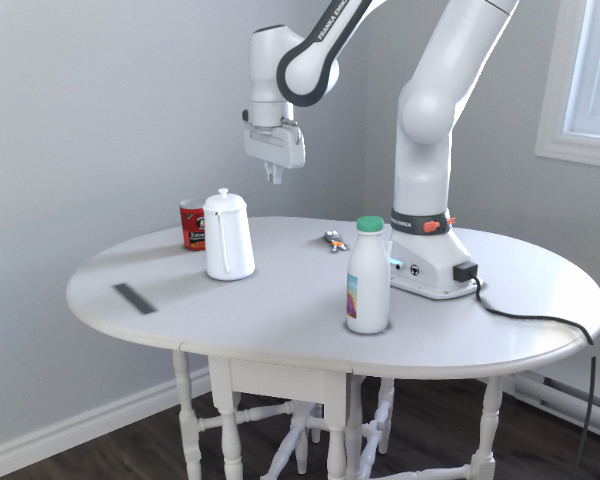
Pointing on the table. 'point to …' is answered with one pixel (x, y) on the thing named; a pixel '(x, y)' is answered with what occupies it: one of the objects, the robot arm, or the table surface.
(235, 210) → the coffeepot
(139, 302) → the tape line
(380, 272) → the milk bottle
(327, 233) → the key chain
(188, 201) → the canned food
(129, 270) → the table surface
